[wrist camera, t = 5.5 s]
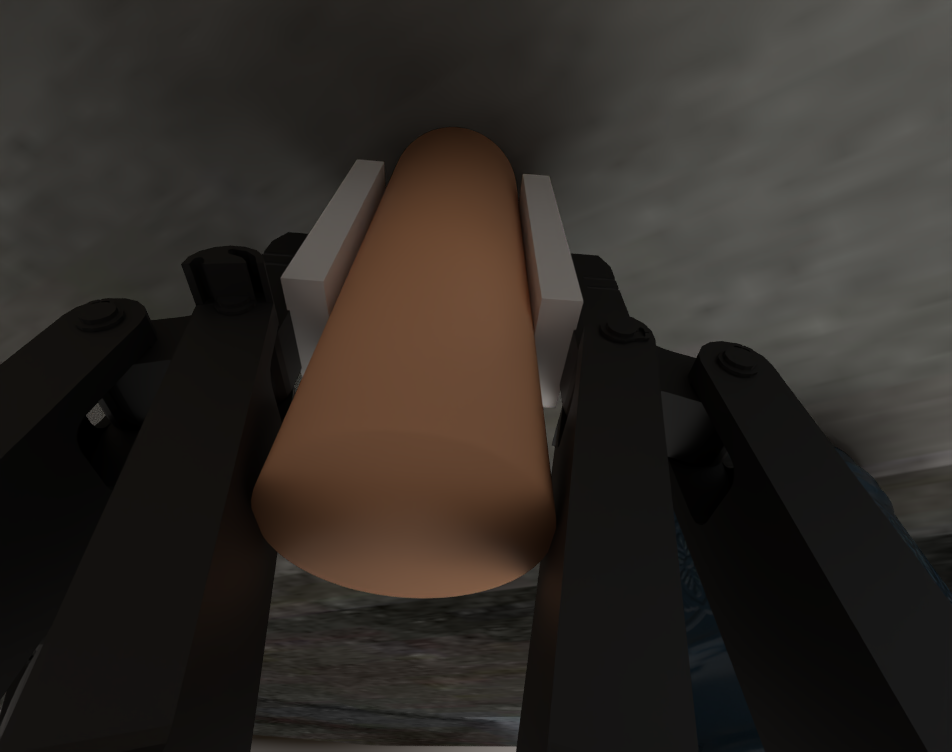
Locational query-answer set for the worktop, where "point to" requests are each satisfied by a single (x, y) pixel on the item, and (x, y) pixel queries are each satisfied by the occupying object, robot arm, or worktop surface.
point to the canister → (712, 675)
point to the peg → (421, 396)
